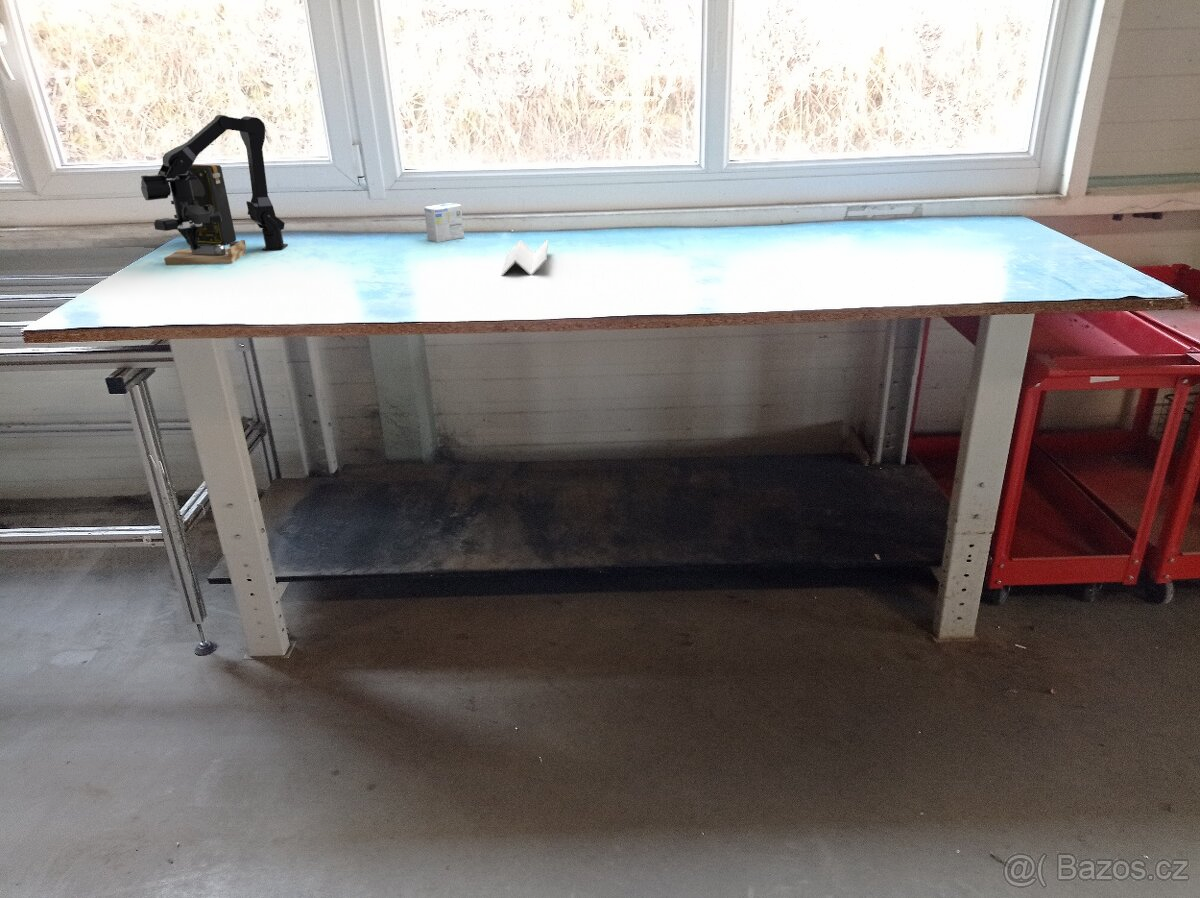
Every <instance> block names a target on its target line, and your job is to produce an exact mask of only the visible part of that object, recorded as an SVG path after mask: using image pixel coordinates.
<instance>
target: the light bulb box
mask: <svg viewBox="0 0 1200 898" xmlns="http://www.w3.org/2000/svg"><path fill="white" fill-rule="evenodd" d="M423 209H424V217H425V224H426V225H425V227H426V234H427V235H426V236H427V240H428V241H431V242H435V243H439V242H440V243H441V242H446V241H451V240H456V239H457V240H458V239H461V238H462V239H463V238H465V234H464V224H463V223H464V221H463V213H462V205H461V204H459V203H454V202H448V203H441V204H434V205H430V206H429V205H428V206H424V207H423Z"/></svg>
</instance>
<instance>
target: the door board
mask: <svg viewBox="0 0 1200 898" xmlns="http://www.w3.org/2000/svg"><path fill="white" fill-rule="evenodd" d="M246 248H247V244H246V240H245V239H241V240H239V241H238V240H236V241H233V242H231V243H229V247H228V246H226V247H225V252H226V254H224V255H209V254H192V251H191V248H181V249H179V250H177V251H174V252H173V253H171V254H169V255H167V256H166V257H164V259H163V260H164V263H165V265H166V266H177V265H179V266H182V265H184V264H185V265H217V263H224V264H233V263H235V262H237V261H238V260H239V259H241V258H242V257H244V256H245V255H246V254H247V252H246ZM244 254H245V255H244ZM241 256H242V257H241ZM240 257H241V258H240ZM237 259H238V260H237ZM234 261H235V262H234ZM212 263H213V264H212Z"/></svg>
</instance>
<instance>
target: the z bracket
mask: <svg viewBox="0 0 1200 898" xmlns="http://www.w3.org/2000/svg"><path fill="white" fill-rule="evenodd" d="M549 241H550V240H549V239H546V240H545V241H544V242H543V243H542V244H541V246H540V247H538V249H537V250H535V251H533V250H532V249H531V248H530V247H529V246H528V245H527V244H526V243H525V242H524V241H522V240H521V239H520V240H519V241H518V242H517V243H516V244H515V245H514V246H513V247H512V248H511V250H510V251H508V253H507V254H506V256H505V259H504V264H503V266H502V269H501V273H500V277H503V276H504V275H505V274H506V272H508V271H509V270H510V269H511V267H512V266H513V265H514V264H517V265H518V266H519V267H520V268H522V269H523V270H524V271H525V272H526V273H527V274H528V275H529V276H533V275H534V274H535V273H536V272H537V271H538V270H539V268H541V267H542V265H543V264H544V263H545V262H546V261H547V257H548V248H549Z"/></svg>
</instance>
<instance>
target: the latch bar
mask: <svg viewBox="0 0 1200 898" xmlns="http://www.w3.org/2000/svg"><path fill="white" fill-rule="evenodd" d="M189 247H190V249H191V251H192V254H209V255H224V254H226V252H225V248H226V247H225V246H224V245H221V244H218V245H209V244H197V249H196V250H193V249H192V248H191V246H190V245H189Z"/></svg>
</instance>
